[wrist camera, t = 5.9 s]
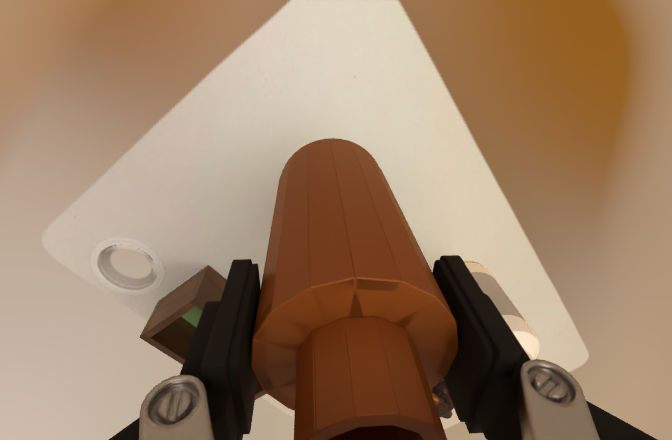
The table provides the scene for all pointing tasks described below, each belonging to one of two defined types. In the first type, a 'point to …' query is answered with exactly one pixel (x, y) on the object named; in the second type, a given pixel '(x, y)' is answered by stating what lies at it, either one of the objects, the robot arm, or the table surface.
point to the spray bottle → (505, 308)
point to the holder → (184, 316)
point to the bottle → (349, 305)
